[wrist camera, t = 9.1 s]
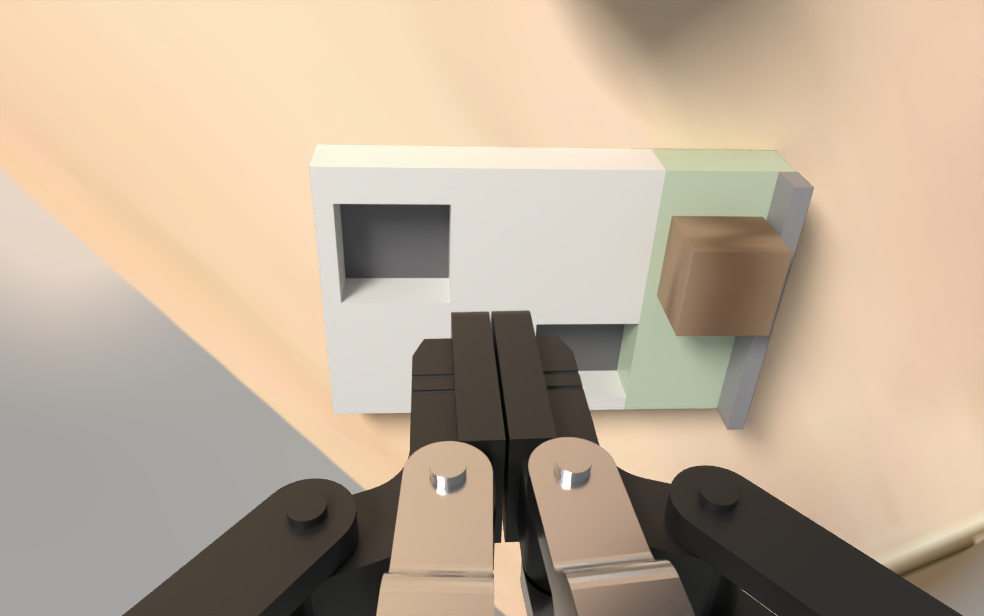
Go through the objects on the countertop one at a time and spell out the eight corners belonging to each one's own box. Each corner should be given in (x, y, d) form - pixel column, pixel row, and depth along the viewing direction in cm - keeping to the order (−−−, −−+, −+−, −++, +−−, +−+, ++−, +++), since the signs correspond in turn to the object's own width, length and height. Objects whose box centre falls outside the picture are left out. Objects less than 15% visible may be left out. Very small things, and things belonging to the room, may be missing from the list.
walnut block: (762, 216, 40) (792, 252, 37) (742, 295, 43) (768, 335, 40) (671, 215, 40) (693, 252, 37) (656, 295, 43) (676, 336, 39)
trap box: (775, 150, 42) (814, 187, 37) (716, 378, 50) (743, 429, 46) (316, 144, 40) (303, 182, 35) (338, 383, 48) (329, 436, 44)
